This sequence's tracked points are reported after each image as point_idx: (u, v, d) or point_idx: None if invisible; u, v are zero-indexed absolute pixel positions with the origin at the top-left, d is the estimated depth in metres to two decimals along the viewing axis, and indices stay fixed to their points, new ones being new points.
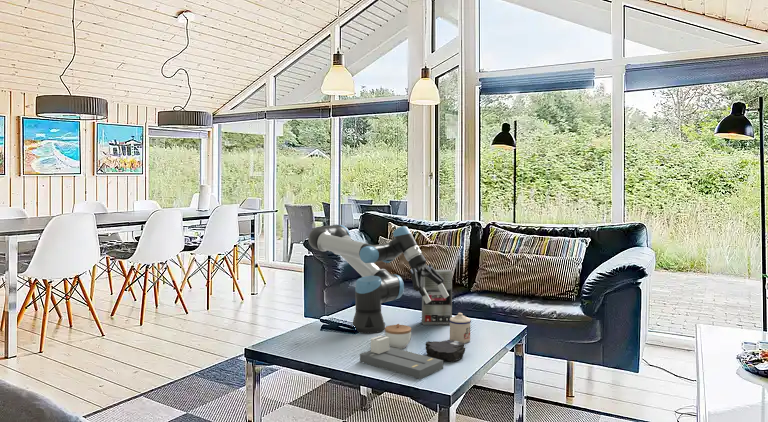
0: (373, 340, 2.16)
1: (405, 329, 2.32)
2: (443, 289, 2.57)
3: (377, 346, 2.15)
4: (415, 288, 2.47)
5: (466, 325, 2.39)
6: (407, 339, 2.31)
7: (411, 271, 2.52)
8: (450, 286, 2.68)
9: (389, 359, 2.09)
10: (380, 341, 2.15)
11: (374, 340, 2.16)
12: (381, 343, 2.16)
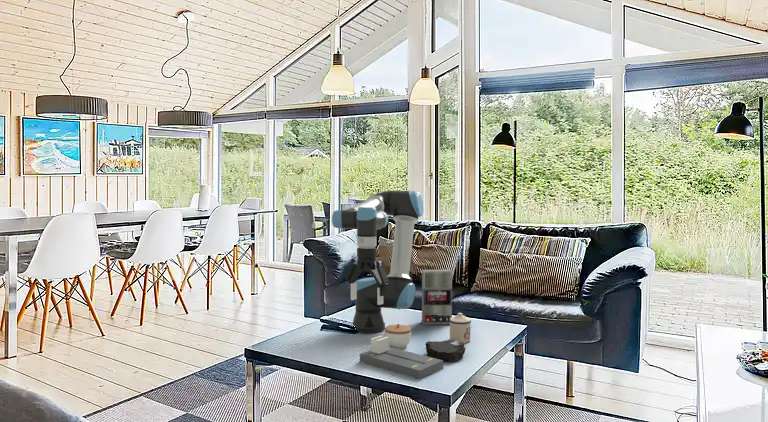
0: (373, 340, 2.16)
1: (405, 329, 2.32)
2: None
3: (377, 346, 2.15)
4: None
5: (466, 325, 2.39)
6: (407, 339, 2.31)
7: None
8: (450, 286, 2.68)
9: (389, 359, 2.09)
10: (380, 341, 2.15)
11: (374, 340, 2.16)
12: (381, 343, 2.16)
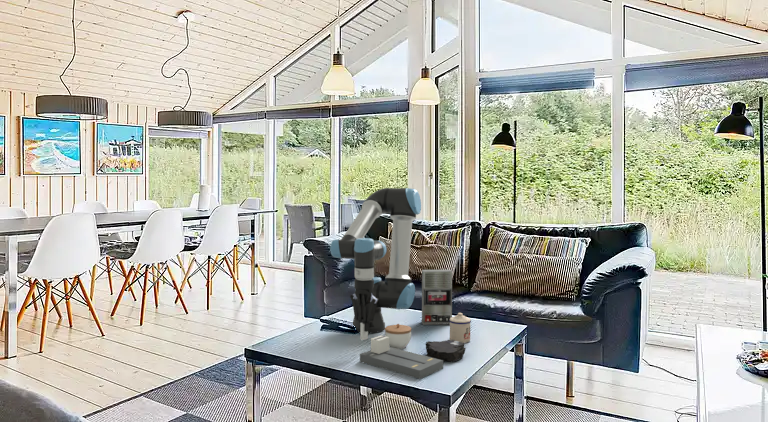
0: (373, 340, 2.16)
1: (405, 329, 2.32)
2: None
3: (377, 346, 2.15)
4: None
5: (466, 325, 2.39)
6: (407, 339, 2.31)
7: None
8: (450, 286, 2.68)
9: (389, 359, 2.09)
10: (380, 341, 2.15)
11: (374, 340, 2.16)
12: (381, 343, 2.16)
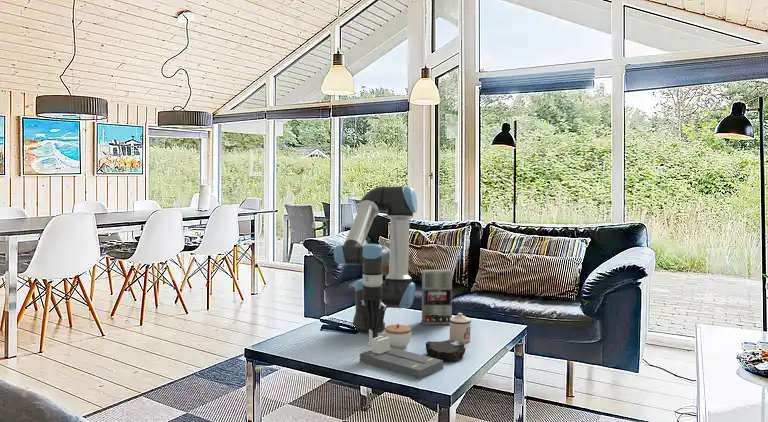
0: (374, 340, 2.16)
1: (405, 329, 2.32)
2: None
3: (378, 346, 2.15)
4: None
5: (466, 325, 2.39)
6: (407, 339, 2.31)
7: None
8: (450, 286, 2.68)
9: (389, 359, 2.09)
10: (381, 341, 2.15)
11: (375, 340, 2.16)
12: (382, 344, 2.16)
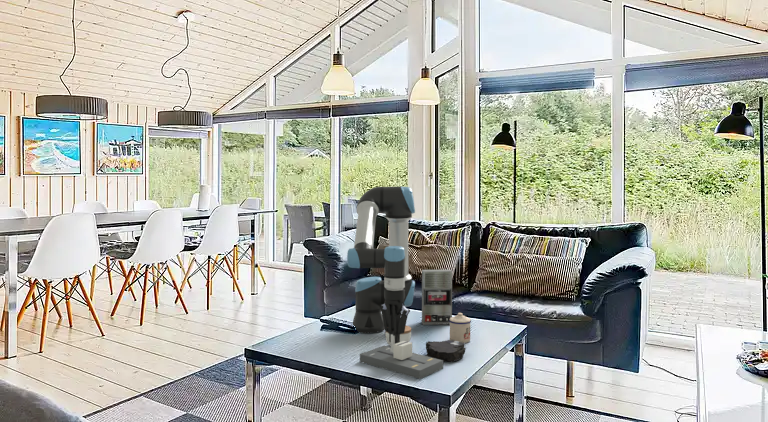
0: (396, 346, 2.09)
1: (405, 329, 2.32)
2: None
3: (400, 352, 2.08)
4: None
5: (466, 325, 2.39)
6: (407, 339, 2.31)
7: None
8: (450, 286, 2.68)
9: (389, 359, 2.09)
10: (403, 347, 2.08)
11: (397, 346, 2.09)
12: (405, 349, 2.09)
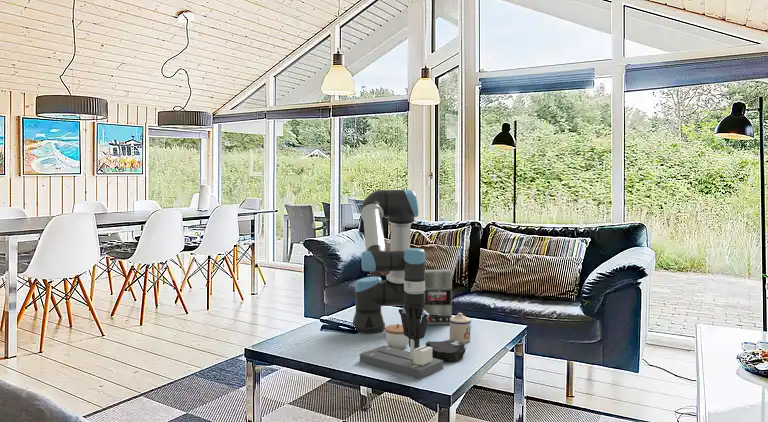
0: (416, 351, 2.03)
1: None
2: None
3: (420, 357, 2.02)
4: None
5: (466, 325, 2.39)
6: (407, 339, 2.31)
7: None
8: (450, 286, 2.68)
9: (389, 359, 2.09)
10: (423, 352, 2.02)
11: (417, 351, 2.03)
12: (425, 354, 2.03)
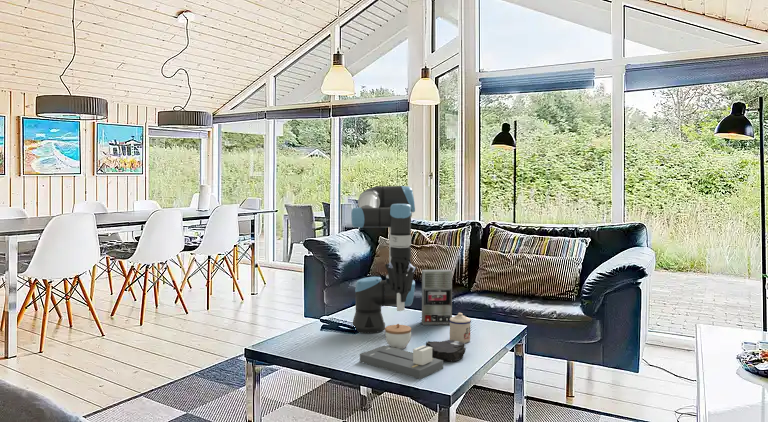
0: (416, 351, 2.03)
1: (405, 329, 2.32)
2: None
3: (420, 357, 2.02)
4: None
5: (466, 325, 2.39)
6: (407, 339, 2.31)
7: None
8: (450, 286, 2.68)
9: (389, 359, 2.09)
10: (423, 352, 2.02)
11: (417, 351, 2.03)
12: (425, 354, 2.03)
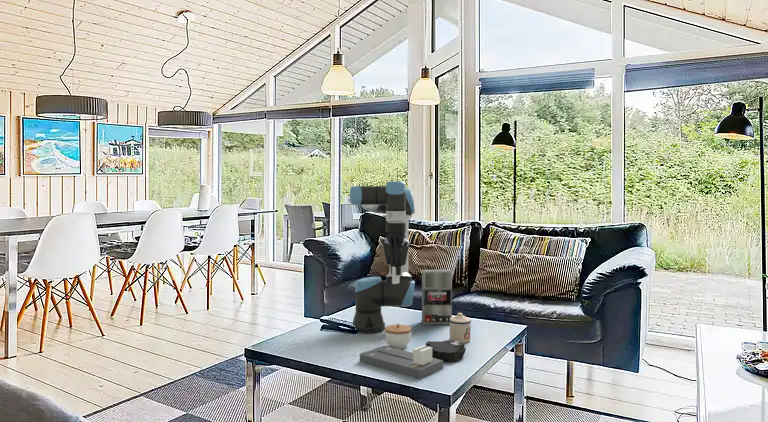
0: (416, 351, 2.03)
1: (405, 329, 2.32)
2: None
3: (420, 357, 2.02)
4: None
5: (466, 325, 2.39)
6: (407, 339, 2.31)
7: None
8: (450, 286, 2.68)
9: (389, 359, 2.09)
10: (423, 352, 2.02)
11: (417, 351, 2.03)
12: (425, 354, 2.03)
